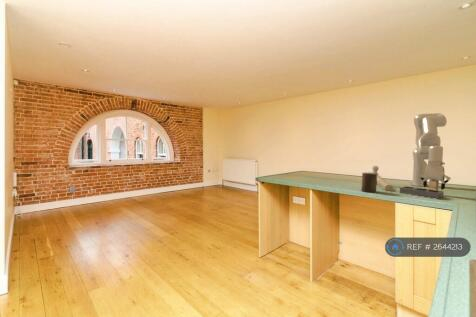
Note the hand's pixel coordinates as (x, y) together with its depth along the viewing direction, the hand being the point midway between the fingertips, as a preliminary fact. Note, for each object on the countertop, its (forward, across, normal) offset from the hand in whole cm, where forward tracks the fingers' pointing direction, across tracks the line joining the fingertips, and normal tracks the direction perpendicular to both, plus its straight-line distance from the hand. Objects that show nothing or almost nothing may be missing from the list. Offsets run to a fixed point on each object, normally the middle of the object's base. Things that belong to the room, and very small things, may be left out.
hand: (433, 188), depth 161 cm
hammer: (+5, +34, +3) cm, 34 cm away
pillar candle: (+5, +30, +27) cm, 41 cm away
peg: (+5, 0, 0) cm, 5 cm away
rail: (+5, +4, +9) cm, 11 cm away
